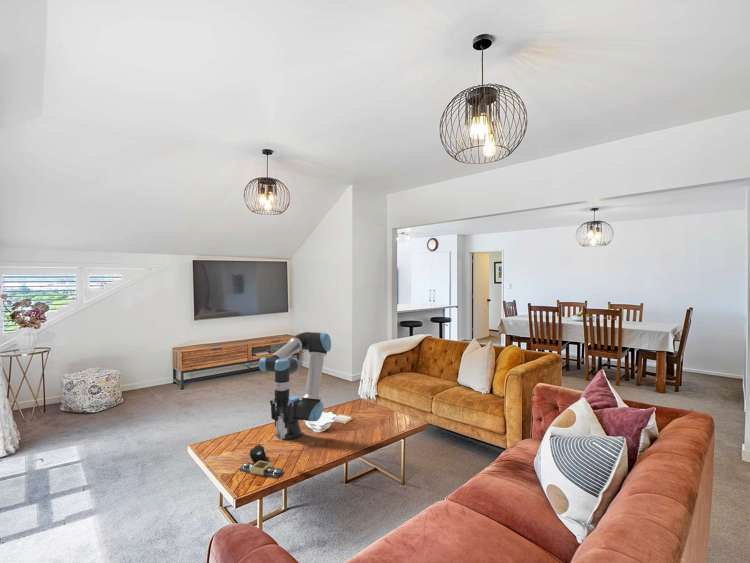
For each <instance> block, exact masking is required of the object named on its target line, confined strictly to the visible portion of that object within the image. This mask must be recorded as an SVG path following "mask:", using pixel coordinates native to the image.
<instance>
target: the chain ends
mask: <svg viewBox="0 0 750 563" xmlns="http://www.w3.org/2000/svg"><path fill="white" fill-rule="evenodd" d="M273 465H274V463H273V462H269V461H266V460H263V461H256V463H255V462H249V461H247V462H244V463H242V466H240V467H239V471H242V472H246V473H250V474H251V475H252V474H253V475H257V476H260V477H261V476H262V477H264V476H265V477H269V478H270V477H271V478H275V479H276V478H278V477H279V476H280V475H282V474H283V473H284V469H282V468H278V467H273Z"/></svg>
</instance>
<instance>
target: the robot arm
mask: <svg viewBox="0 0 750 563" xmlns="http://www.w3.org/2000/svg"><path fill="white" fill-rule="evenodd" d="M331 349H332V339H331V336H330V335H329V334H328V333H326V332H315V331H314V332H313V331H312V332H309V331H305V332H300V333H298V334H296V335H295V336H293V337H291V338H290V339H289V340H288V342H287V343H285V344H284V345H283V346H282V347H281V348H279V349H278V350H277V351H275V352H274V353H272V354H271V355H270V356H269V357H267V356H265V357H260V359H259V361H258V367H259V370H260V371H261V372H268V373H270V372H271V373H274V398H272V399H271V400H269V404H270V412H271V413H270V415H271V417H270V418H271V420H274V427H275V436H276V438H277V439H278V415H279V414H284V422H283V435H285V438H284V439H283V440H285V441H286V440H289V441H290V440H295V439H298V438H299V437H301V436H302V429H301V425H300V421H307V422H318V421H319V420H320V418H321V416H322V415H323V411H324V403H323V401H322V400H321V399H322V398H321V397H320V389H321V383H322V375H323V369H324V368H323V366H324V360H325V357H326V356H327V354H328V352H330V350H331ZM300 351H308V354H309V357H310V358H309V363H308V372H307V376H306V377H307V379H306V385H305V393H304V395H303V396H302V397H301V399H300V396H298V395H291V396H290V375H292V374H294V373H296V372H297V371H299V370H300V368H301V361H300V360H299V358H295V357H292V356H293V355H294V354H296V353H299V352H300Z"/></svg>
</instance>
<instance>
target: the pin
mask: <svg viewBox="0 0 750 563" xmlns="http://www.w3.org/2000/svg"><path fill="white" fill-rule="evenodd" d="M283 422H284V414H279V415H278V438H277V439H278V440H284V438H285V435H283Z"/></svg>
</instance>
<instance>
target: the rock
mask: <svg viewBox="0 0 750 563" xmlns="http://www.w3.org/2000/svg"><path fill="white" fill-rule="evenodd" d="M249 456H250V458H251V460H252V463H255V462H256V463H257V462H258V461H266V460H267V456H266V452H265V448H264V446H262V445H261V444H258V445H255V446H254V447H253V448H251V449H250V451H249Z"/></svg>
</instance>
